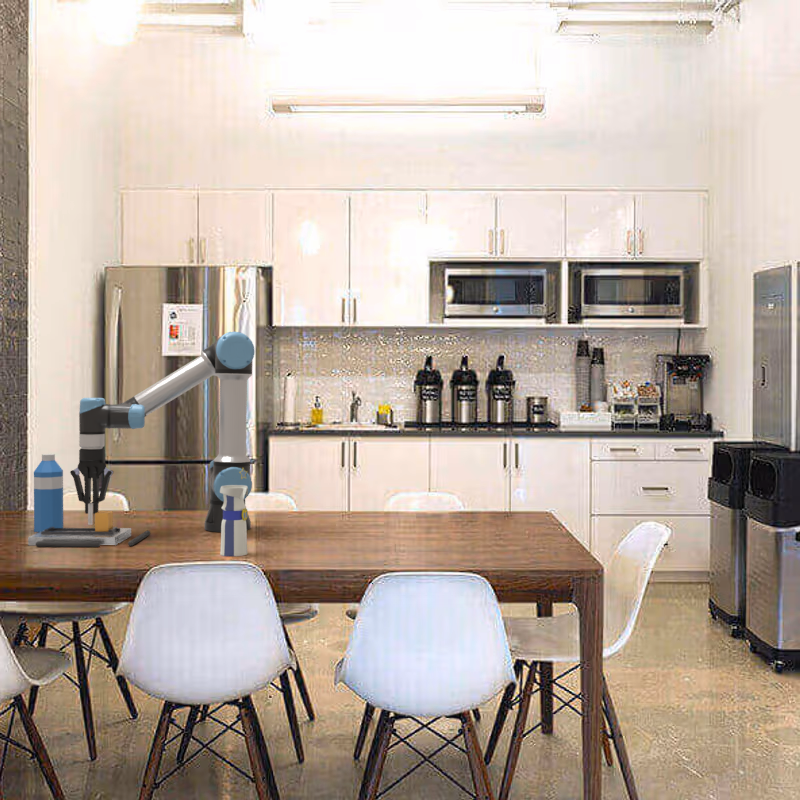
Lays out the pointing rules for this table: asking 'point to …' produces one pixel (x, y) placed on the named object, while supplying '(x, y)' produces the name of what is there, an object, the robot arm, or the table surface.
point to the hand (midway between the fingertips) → (91, 524)
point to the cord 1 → (66, 544)
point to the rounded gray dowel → (139, 538)
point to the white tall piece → (234, 519)
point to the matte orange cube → (103, 520)
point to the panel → (81, 535)
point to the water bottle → (48, 494)
